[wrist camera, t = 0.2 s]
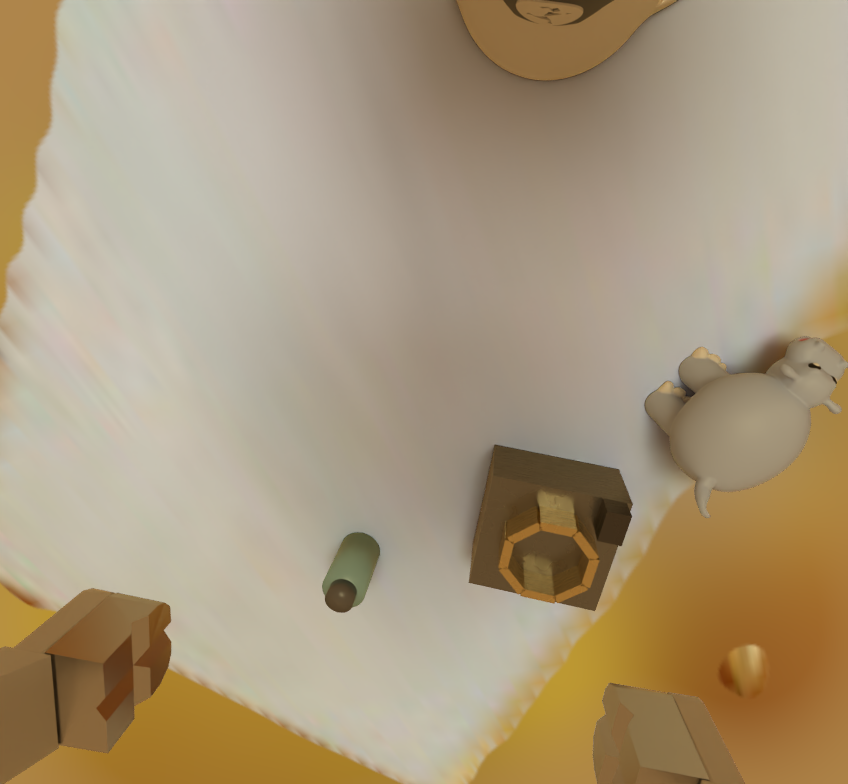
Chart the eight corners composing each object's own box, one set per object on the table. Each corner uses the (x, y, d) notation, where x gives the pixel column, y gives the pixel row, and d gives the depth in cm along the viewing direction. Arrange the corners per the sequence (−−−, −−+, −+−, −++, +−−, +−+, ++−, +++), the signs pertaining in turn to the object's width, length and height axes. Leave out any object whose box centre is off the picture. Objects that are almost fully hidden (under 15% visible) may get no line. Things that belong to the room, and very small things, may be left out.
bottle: (343, 528, 57) (318, 578, 49) (382, 537, 56) (362, 588, 49) (340, 560, 58) (315, 613, 51) (377, 568, 58) (358, 623, 51)
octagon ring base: (494, 444, 50) (492, 490, 42) (618, 469, 49) (639, 521, 41) (472, 543, 55) (466, 601, 47) (586, 568, 54) (599, 631, 46)
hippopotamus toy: (847, 370, 43) (934, 414, 34) (707, 488, 49) (751, 553, 40) (750, 292, 42) (814, 318, 33) (619, 422, 48) (645, 473, 39)
